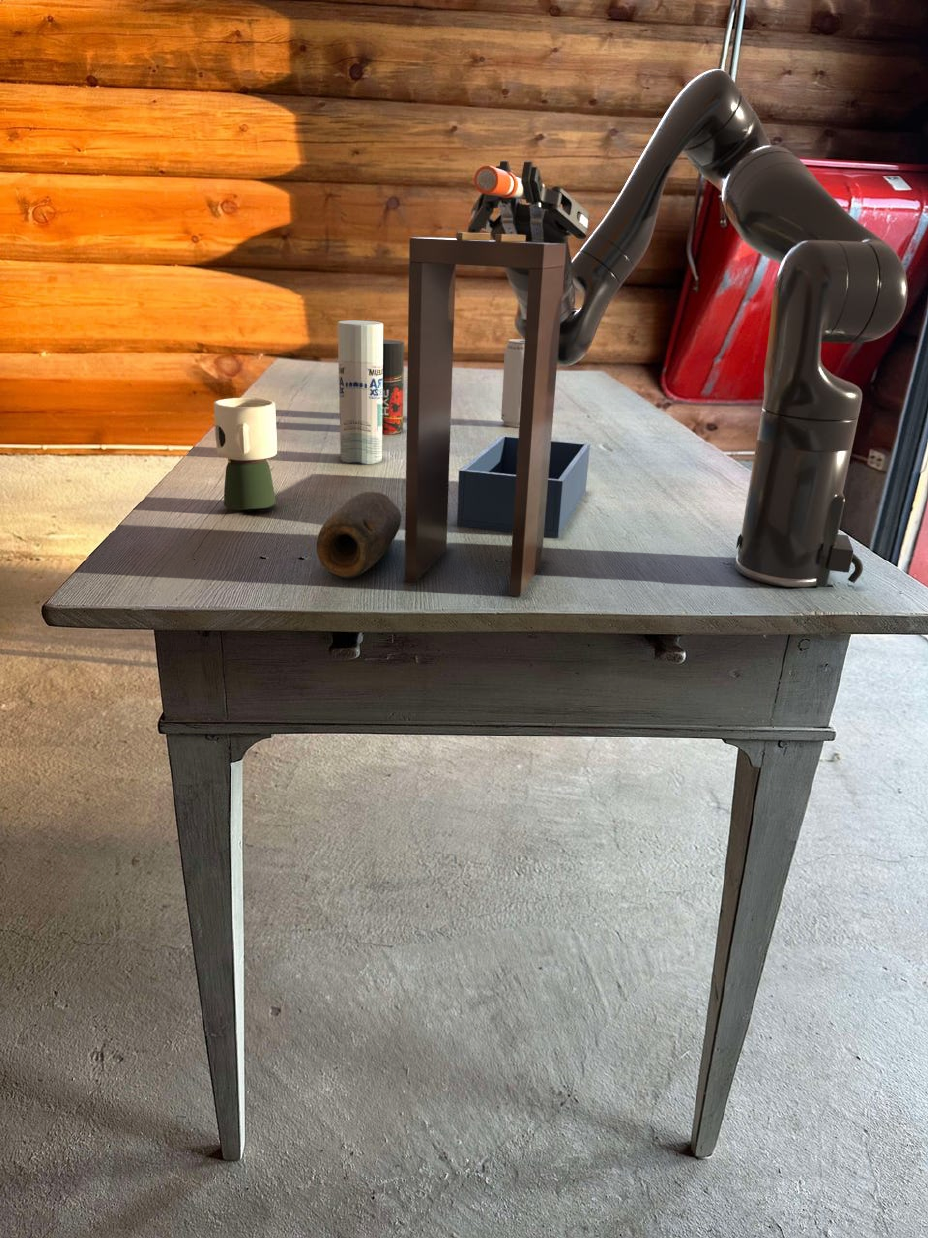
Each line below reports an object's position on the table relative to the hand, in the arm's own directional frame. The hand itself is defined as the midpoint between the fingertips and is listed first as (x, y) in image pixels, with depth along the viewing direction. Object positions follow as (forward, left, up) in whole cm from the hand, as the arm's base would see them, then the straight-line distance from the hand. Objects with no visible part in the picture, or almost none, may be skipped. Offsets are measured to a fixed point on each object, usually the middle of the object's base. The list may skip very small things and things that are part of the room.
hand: (514, 169), depth 88 cm
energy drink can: (+13, -71, -38) cm, 82 cm away
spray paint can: (+29, -33, -38) cm, 59 cm away
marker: (0, +2, -1) cm, 2 cm away
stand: (0, +8, -38) cm, 39 cm away
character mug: (+32, -3, -38) cm, 50 cm away
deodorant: (+33, -55, -38) cm, 75 cm away
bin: (0, -17, -38) cm, 42 cm away
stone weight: (+12, +9, -38) cm, 41 cm away
